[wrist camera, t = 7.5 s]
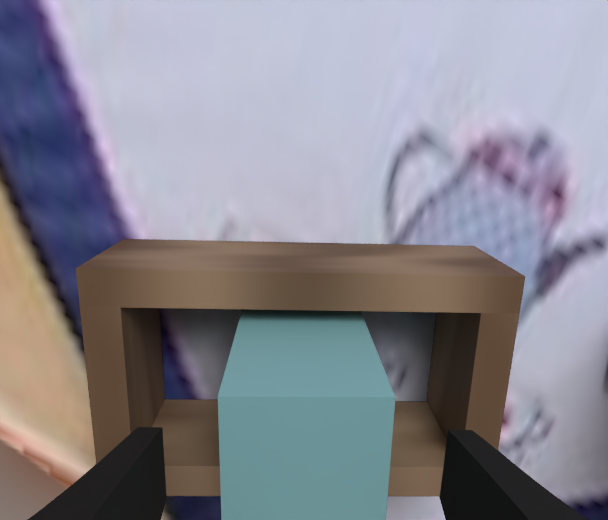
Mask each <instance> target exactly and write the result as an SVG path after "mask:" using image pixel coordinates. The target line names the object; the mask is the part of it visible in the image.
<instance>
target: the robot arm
mask: <svg viewBox="0 0 608 520" xmlns="http://www.w3.org/2000/svg"><path fill="white" fill-rule="evenodd" d="M166 496H167V495H166V479H165V462H164V446H163V429H162V427H137V428H136V429H135V430H134V431H133V432H132V433H131V434H129V435H128V436H127V437H126V438H125V439H124V440H123V441H122V442H120V443H119V444H118V445H117V446H116V447H115V448H114V449H113V450H112V451H111V452H109V453H108V454H107V455H106V456H105V457H104V458H103V459H102V460H100V461H99V462H98V463H97V464H96V465H95V466H94V467H93V468H91V469H90V470H89V471H88V472H87V473H86V474H84V475H83V476H82V477H81V478H80V479H79V480H78V481H76V482H75V483H74V484H73V485H71V486H70V487H69V488H68V489H66V490H65V491H64V492H63V493H61V494H60V495H59V496H58V497H56V498H55V499H54V500H53V501H51V502H50V503H49V504H48V505H46V506H45V507H44V508H43V509H41V510H40V511H39V512H38V513H36V514H35V515H34V516H32V517H31V518H29V519H28V520H161V516H162V512H163V508H164V504H165V500H166ZM440 500H441V504H442V507H443V511H444V515H445V518H446V520H588V519H586V518H585V517H583V516H582V515H580V514H579V513H578V512H576V511H575V510H573V509H572V508H571V507H569V506H568V505H566V504H565V503H564V502H562V501H561V500H560V499H558V498H557V497H555V496H554V495H553V494H552V493H550V492H549V491H548V490H546V489H545V488H544V487H542V486H541V485H540V484H538V483H537V482H536V481H535V480H533V479H532V478H531V477H530V476H528V475H527V474H526V473H525V472H523V471H522V470H521V469H520V468H518V467H517V466H516V465H515V464H513V463H512V462H511V461H510V460H509V459H507V458H506V457H505V456H504V455H503V454H501V453H500V452H499V451H498V450H496V449H495V448H494V447H493V446H492V445H490V444H489V443H488V442H487V441H485V440H484V439H483V438H482V437H480V436H479V435H478V434H477V433H475V432H474V431H473V430H448V434H447V442H446V450H445V458H444V466H443V474H442V482H441V490H440Z"/></svg>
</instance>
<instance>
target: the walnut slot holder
mask: <svg viewBox="0 0 608 520" xmlns="http://www.w3.org/2000/svg"><path fill="white" fill-rule="evenodd" d="M76 275H77V284H78V294H79V303H80V313H81V322H82V332H83V341H84V351H85V360H86V370H87V379H88V389H89V398H90V408H91V417H92V427H93V436H94V446H95V455H96V464H97V463H98V462H99V461H100V460H102V459H103V458H104V457H105V456H106V455H107V454H108V453H109V452H111V451H112V450H113V449H114V448H115V447H116V446H117V445H118V444H119V443H120V442H122V441H123V440H124V439H125V438H126V437H127V436H128V435H129V434H131V433H132V432H133V431H134V430H135V429H136V428H137V427H162V429H163V446H164V462H165V479H166V495H167V496H221V488H220V456H219V425H218V400H180V399H165V389H164V372H163V355H162V337H161V320H160V308H187V309H253V310H319V311H385V312H436V321H435V330H434V339H433V348H432V358H431V367H430V376H429V385H428V395H427V402H415V401H395V410H394V422H393V435H392V447H391V459H390V472H389V484H388V496H440V490H441V482H442V474H443V466H444V458H445V450H446V442H447V434H448V430H473V431H474V432H475V433H477V434H478V435H479V436H480V437H482V438H483V439H484V440H485V441H487V442H488V443H489V444H490V445H492V446H493V447H494V448H495V449H496V450H498V445H499V439H500V433H501V426H502V420H503V414H504V408H505V401H506V395H507V389H508V382H509V376H510V370H511V363H512V357H513V351H514V344H515V338H516V332H517V325H518V319H519V313H520V306H521V300H522V294H523V287H524V281H525V276H524V275H522V274H520V273H519V272H517V271H515V270H513V269H512V268H510V267H508V266H507V265H505V264H503V263H502V262H500V261H498V260H497V259H495V258H493V257H492V256H490V255H488V254H487V253H485V252H483V251H482V250H480V249H478V248H477V247H475V246H441V245H391V244H342V243H292V242H243V241H193V240H143V239H123V240H121V241H120V242H118V243H117V244H115V245H113V246H112V247H110V248H108V249H107V250H105V251H103V252H102V253H100V254H99V255H97V256H95V257H94V258H92V259H90V260H89V261H87V262H86V263H84V264H82V265H81V266H79V267H77V268H76Z"/></svg>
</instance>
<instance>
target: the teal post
mask: <svg viewBox="0 0 608 520" xmlns="http://www.w3.org/2000/svg"><path fill="white" fill-rule="evenodd" d="M394 410H395V395H394V392H393V390H392V387H391V385H390V382H389V380H388V377H387V375H386V372H385V370H384V367H383V365H382V362H381V360H380V357H379V355H378V352H377V350H376V348H375V345H374V343H373V340H372V338H371V335H370V333H369V330H368V328H367V325H366V323H365V320H364V318H363V315H362V313H361V311H319V310H253V309H242V312H241V315H240V319H239V323H238V326H237V330H236V333H235V337H234V340H233V344H232V347H231V351H230V354H229V358H228V362H227V365H226V369H225V372H224V376H223V379H222V383H221V386H220V390H219V393H218V425H219V456H220V488H221V519H222V520H386V509H387V497H388V484H389V472H390V459H391V447H392V435H393V422H394Z"/></svg>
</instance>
